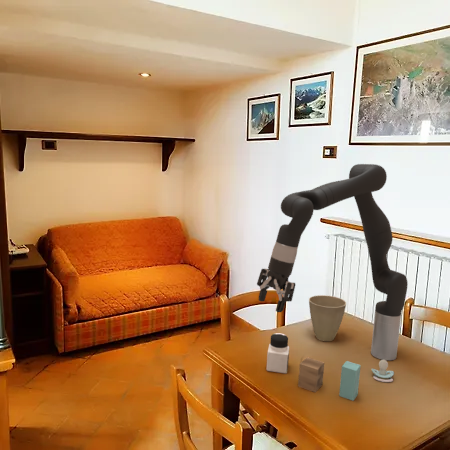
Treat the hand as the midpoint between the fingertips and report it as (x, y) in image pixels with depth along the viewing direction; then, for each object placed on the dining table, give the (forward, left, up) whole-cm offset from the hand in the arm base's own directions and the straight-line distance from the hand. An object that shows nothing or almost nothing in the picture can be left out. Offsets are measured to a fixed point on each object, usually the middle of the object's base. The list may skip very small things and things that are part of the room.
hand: (269, 306), depth 136 cm
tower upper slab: (-7, +13, -22) cm, 27 cm away
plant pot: (-46, +3, -26) cm, 53 cm away
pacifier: (-27, +31, -27) cm, 49 cm away
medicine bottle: (-11, -1, -26) cm, 29 cm away
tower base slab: (-7, +13, -26) cm, 30 cm away
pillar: (-9, +25, -26) cm, 37 cm away
